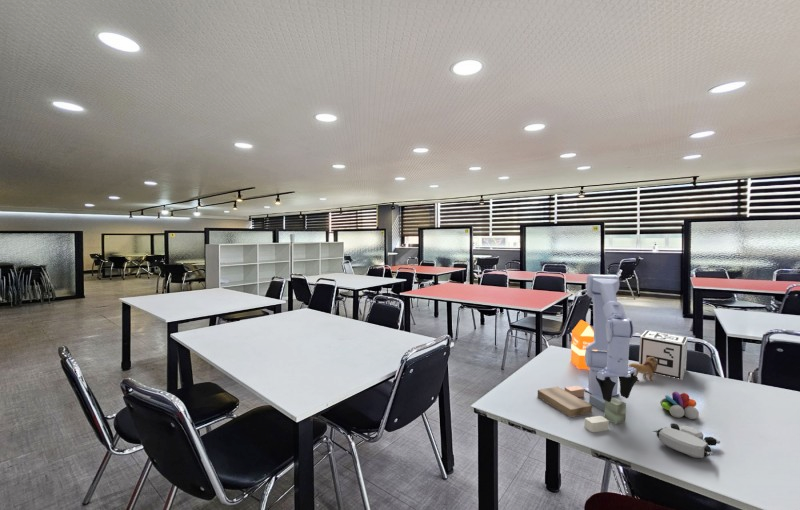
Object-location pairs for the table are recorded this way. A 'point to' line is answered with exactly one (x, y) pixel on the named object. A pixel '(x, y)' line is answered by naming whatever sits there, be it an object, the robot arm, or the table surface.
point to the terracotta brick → (575, 391)
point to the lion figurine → (646, 367)
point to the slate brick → (597, 401)
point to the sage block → (615, 411)
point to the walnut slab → (565, 401)
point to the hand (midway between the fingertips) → (615, 398)
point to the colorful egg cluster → (680, 405)
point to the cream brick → (596, 424)
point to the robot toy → (686, 440)
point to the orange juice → (581, 343)
